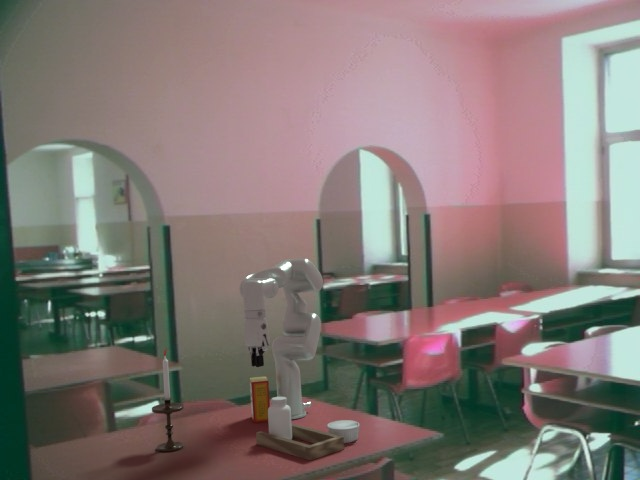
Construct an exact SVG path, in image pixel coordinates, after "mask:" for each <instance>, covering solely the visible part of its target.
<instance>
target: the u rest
mask: <svg viewBox="0 0 640 480" xmlns="http://www.w3.org/2000/svg"><path fill="white" fill-rule="evenodd" d="M291 424H292V440H290V439H286V438H283V437H279V436H275V435H272V434H269V432H268V433H267V432H264V431H258V432H255V437H256V445H259V446H261V447H265V448H268V449H271V450H273V451H278V452H281V453H284V454H287V455H291V456H295V457H296V458H300V459H303V460H307V461H313V460H316V459H319V458H323V457H325V456H328V455H331V454H333V453H336V452H339V451H343V450H345V443H344V437H343V436H339V435H335V434H331V433H329V432H326V431H323V430H319V429H314V428H311V427H306V426H303V425H299V424H295V423H291ZM293 439H297V440H300V441H305V442H309V443H312V444H307V443H304V442H300V441H296V440H293Z"/></svg>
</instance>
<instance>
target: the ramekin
mask: <svg viewBox="0 0 640 480" xmlns="http://www.w3.org/2000/svg"><path fill="white" fill-rule="evenodd" d="M326 426H327V427H326V428H327V430H328V433H331V434H335V435H339V436H343V437H344V444H349V443H354V442H355V441H357V440H358V438H359V433H360V426H361V425H360V422H358V421H355V420H352V419H351V420H350V419H349V420H348V419H347V420H346V419H341V420H335V421H331V422H329V423H327V425H326Z"/></svg>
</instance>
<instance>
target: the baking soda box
mask: <svg viewBox="0 0 640 480" xmlns="http://www.w3.org/2000/svg"><path fill="white" fill-rule="evenodd" d="M248 380H249V395H250V411H251V412H250V413H251V419H252V422H253V424H257V423H259V424H260V423H265V422H266V423H268V408H269V407H270V406H271V403H270V401H271V400H270V385H269V380H268V377H267V376H255V377H249V378H248Z"/></svg>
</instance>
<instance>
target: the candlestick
mask: <svg viewBox="0 0 640 480" xmlns="http://www.w3.org/2000/svg"><path fill="white" fill-rule="evenodd" d="M167 348H168V347H165V349H164V352H163V356H164V357H163V360H162V373H163V374H162V375H163V377H162V379H163V392H164V397H163V398H162V399H161V401H164V403H161V404H157V405H154V406H152V407H151V412H152V413H153V414H164V415H165V416H166V425H164V428H165V430H166V433H165V435H166V436H167V441H166V442H163V443H160V444H159V445H157V446H156V451H157V452H159V453H171V452H172V453H173V452H177V451H181V450H182V449H184V446H185V445H184V443H183V442H182V441H174V440H173V438H172V437H173V434H174V432H173V431H172V430H173V428H174V425H173V423H172V419H171V414H173V413H177V412H180V411H183V410H184V409H185V404H184V403H181V402H172V401H171V400H174V398H173V397H171V390H170V389H171V388H170V387H171V386H170V376H169V375H170V373H169V370H170V369H169V359H167V356H166V355H167V350H168V349H167Z"/></svg>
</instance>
